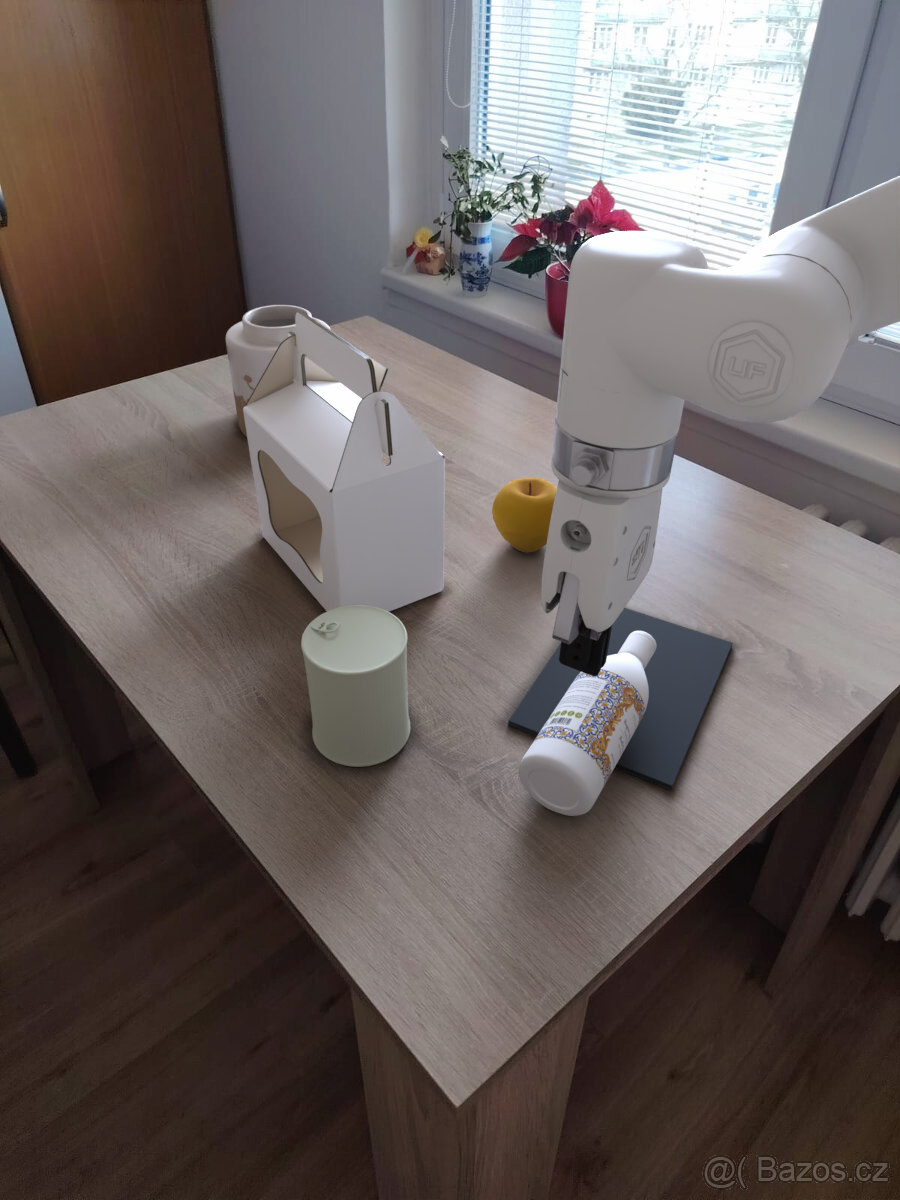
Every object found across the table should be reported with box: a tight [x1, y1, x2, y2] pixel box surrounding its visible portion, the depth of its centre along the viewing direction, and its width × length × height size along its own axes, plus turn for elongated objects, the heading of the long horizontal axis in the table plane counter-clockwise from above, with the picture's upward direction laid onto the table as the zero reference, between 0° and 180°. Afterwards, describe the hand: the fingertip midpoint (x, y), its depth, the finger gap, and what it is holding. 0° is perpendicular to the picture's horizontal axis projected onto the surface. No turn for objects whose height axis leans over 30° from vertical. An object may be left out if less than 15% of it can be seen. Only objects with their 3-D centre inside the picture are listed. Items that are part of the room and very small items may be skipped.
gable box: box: [243, 312, 446, 612], centre depth 91 cm, size 22×13×28 cm, turn 33°
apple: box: [491, 476, 557, 553], centre depth 100 cm, size 9×9×9 cm
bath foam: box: [518, 631, 657, 817], centre depth 75 cm, size 7×7×20 cm
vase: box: [225, 304, 332, 438], centre depth 123 cm, size 15×15×17 cm
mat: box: [507, 607, 734, 791], centre depth 83 cm, size 22×16×1 cm
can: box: [300, 605, 411, 768], centre depth 74 cm, size 9×9×12 cm
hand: (582, 663), depth 63 cm, fingers closed
